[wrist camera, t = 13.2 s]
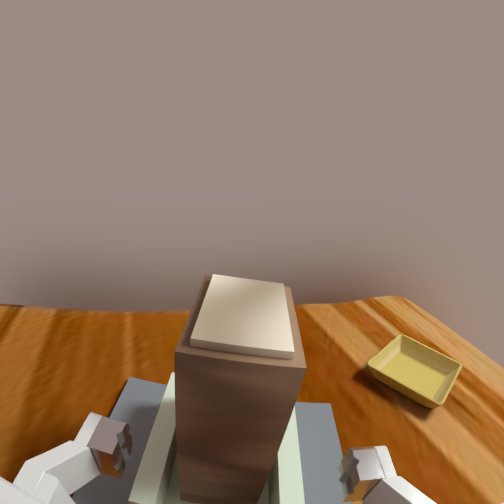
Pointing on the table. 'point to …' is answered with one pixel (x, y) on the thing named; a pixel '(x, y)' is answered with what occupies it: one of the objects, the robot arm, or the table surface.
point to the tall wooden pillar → (235, 388)
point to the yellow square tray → (415, 371)
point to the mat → (142, 420)
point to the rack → (166, 465)
